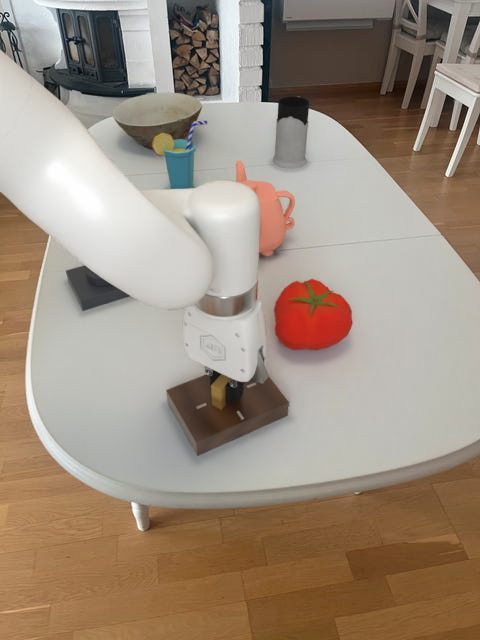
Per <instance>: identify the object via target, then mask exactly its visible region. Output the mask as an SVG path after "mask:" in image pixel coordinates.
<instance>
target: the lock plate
mask: <svg viewBox="0 0 480 640" xmlns="http://www.w3.org/2000/svg"><path fill="white" fill-rule="evenodd" d="M165 392H166V399H167V400H166V401H167V405H168V407H169V408H170V410H171V412H172V414H173V415H174V417H175V420H176V421H177V423H178V424H179V426H180V428H181V430H182V432H183V433H184V435H185V437H186V439H187V440H188V442H189V444H190V446H191V448H192V449H193V451H194V453H195V454H196V456H197V457H198V456H201V455H203V454H205V453H208V452H210V451H212V450H214V449H217V448H218V447H222V446H223V445H225V444H228V443H230V442H232V441H234V440H236V439H239V438H241V437H243V436H245V435H248V434H251V433H252V432H254V431H256V430H259V429H261V428H263V427H266V426H268V425H270V424H272V423H274V422H276V421H279V420H281V419H283V418H285V417H288V414H289V405H290V401H289V400H288V399H287V397H286V396H285V395H284V394H283V392H282V391H281V390H280V388H279V387H278V386H277V384H276V383H275V382H274V381H273V379H271V377H270V376H269V375H268V378H267V379H266V380H265V382H264V383H263V384H261V383H255V382H252V381H249V382H247V383H244V389H243V395H242V396H241V398H240V399H239V400H237V399H236V400H235V401H234V402H233V404H232V405H231V406H229V405H227V404H226V405H225V406H224V408H223V409H222V410H221V409H219V408H217V407H215V406H213V405H212V397H211V386H210V376H208V375H207V374H206V373H205V374H204V375H201V376H198V377H196V378H194V379H191V380H187V381H186V382H183V383H181V384H178V385H175V386H173V387H170V388H168V389H166V390H165Z"/></svg>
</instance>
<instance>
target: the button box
mask: <svg viewBox="0 0 480 640" xmlns="http://www.w3.org/2000/svg"><path fill="white" fill-rule="evenodd" d="M65 274H66V278H67V281H68V283H69V285H70V288H71V289H72V292H73V293H74V295H75V298H76V299H77V301H78V304H79V306H80V307H81V310H82V311H87V310H90V309H93V308H96V307H99V306H103V305H106V304H109V303H112V302H113V303H114V302H116V301H119V300H122V299H126V298H129V297H131V296H130V295H128V294H127V293H125V292H123V291H122V290H120V289H118V288H117V287H115V286H114V285H112V284H110V283H109V282H107V281H106V280H104V279H103V278H101V277H100V276H98V275H97V274H96V273H94V272H93V271H91V270H90V269H89V268H88V267H86V266H85V265H84V264H83V265H81V266H77V267H73V268H69V269H67V270H65Z"/></svg>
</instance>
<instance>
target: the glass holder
mask: <svg viewBox="0 0 480 640" xmlns="http://www.w3.org/2000/svg"><path fill="white" fill-rule="evenodd" d="M277 102H278V103H277V118H276V125H275V126H276V127H275V142H274V143H275V144H274V156H273V159H272V163H273V164H274V165H276V166H277V167H280V168H283V169H284V168H285V169H298V168H302V167H304V166H305V165H306V164H307V157H306V152H307V142H308V141H307V139H308V130H309V113H310V112H309V110H310V101H309V99H307V98H304V97H301V96H299V95H298V96H284V97H281V98H280V99H278V101H277Z"/></svg>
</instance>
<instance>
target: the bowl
mask: <svg viewBox="0 0 480 640" xmlns="http://www.w3.org/2000/svg"><path fill="white" fill-rule="evenodd" d="M202 108H203V105H202V103H201V101H200V100H199V99H197V98H196V97H194V96H192V95H188V94H184V93H180V92H154V93H145V94H141V95H137V96H134V97H131V98H128V99H124V100H123V101H121V102H120V103H119V104H117V105H116V106H115V108H114V109H113V111H112V117H113V119H114V121H115V122H116V124H117V125H118V126H119V128H121V129H122V130H123V131H124V133H126V134H127V135H128V136H130V137H131V138H132V140H135V141H136V142H138V144H139V145H142V146H143V147H145V148H148V149H151V150H154V149H153V147H152V143H153V140H154V137H156V136H158V135H159V134H161V133H165V134H169V135H171V136H172V138H173V140H177V139H184V140H186V138H187V137H188V136H189V132H190V128H191V125H192V123H193V122H194V121H198V118H199V116H200V114H201V112H202V110H203V109H202Z"/></svg>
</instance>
